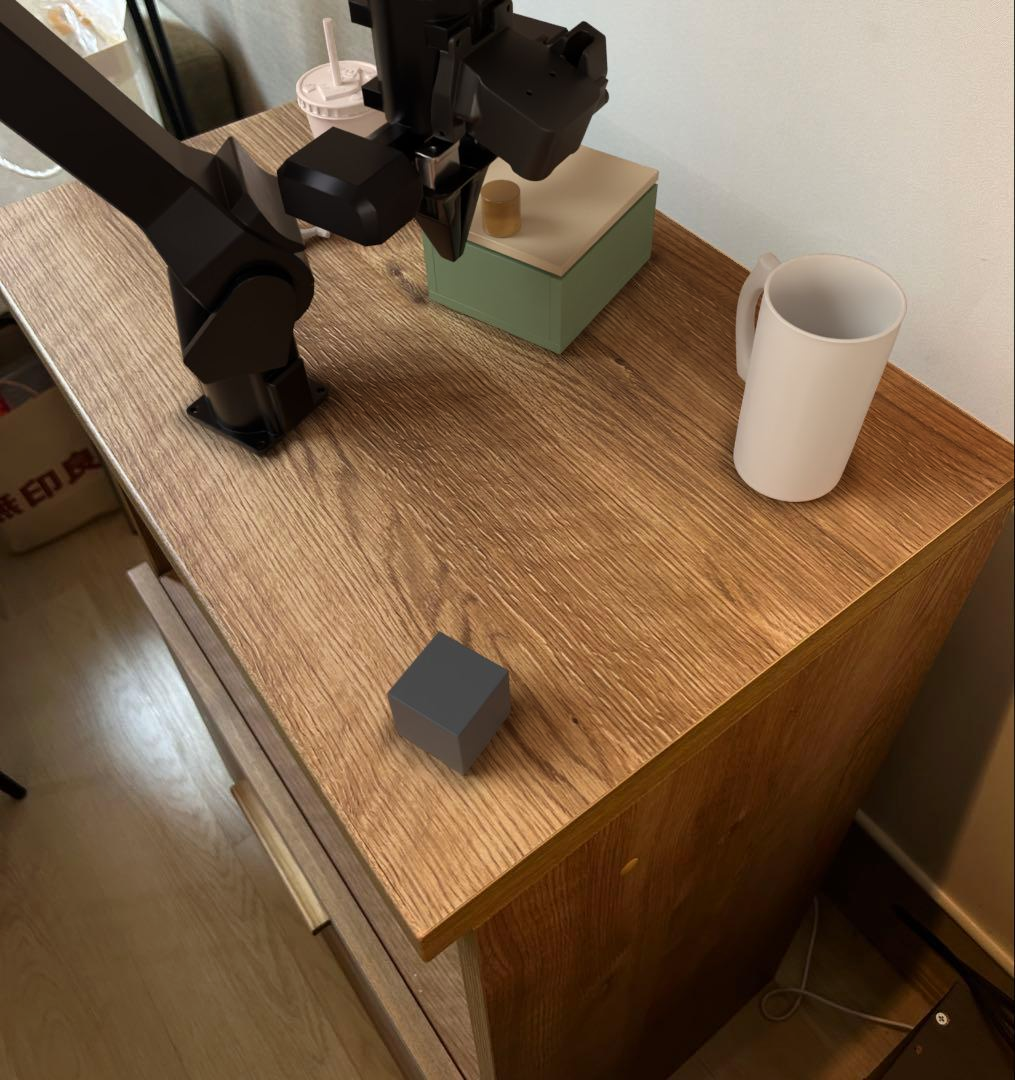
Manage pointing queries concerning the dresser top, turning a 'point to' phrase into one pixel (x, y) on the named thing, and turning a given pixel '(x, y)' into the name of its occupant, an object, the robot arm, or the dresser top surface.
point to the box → (544, 281)
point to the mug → (809, 367)
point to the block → (450, 702)
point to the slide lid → (556, 207)
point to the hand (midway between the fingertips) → (451, 257)
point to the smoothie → (338, 94)
